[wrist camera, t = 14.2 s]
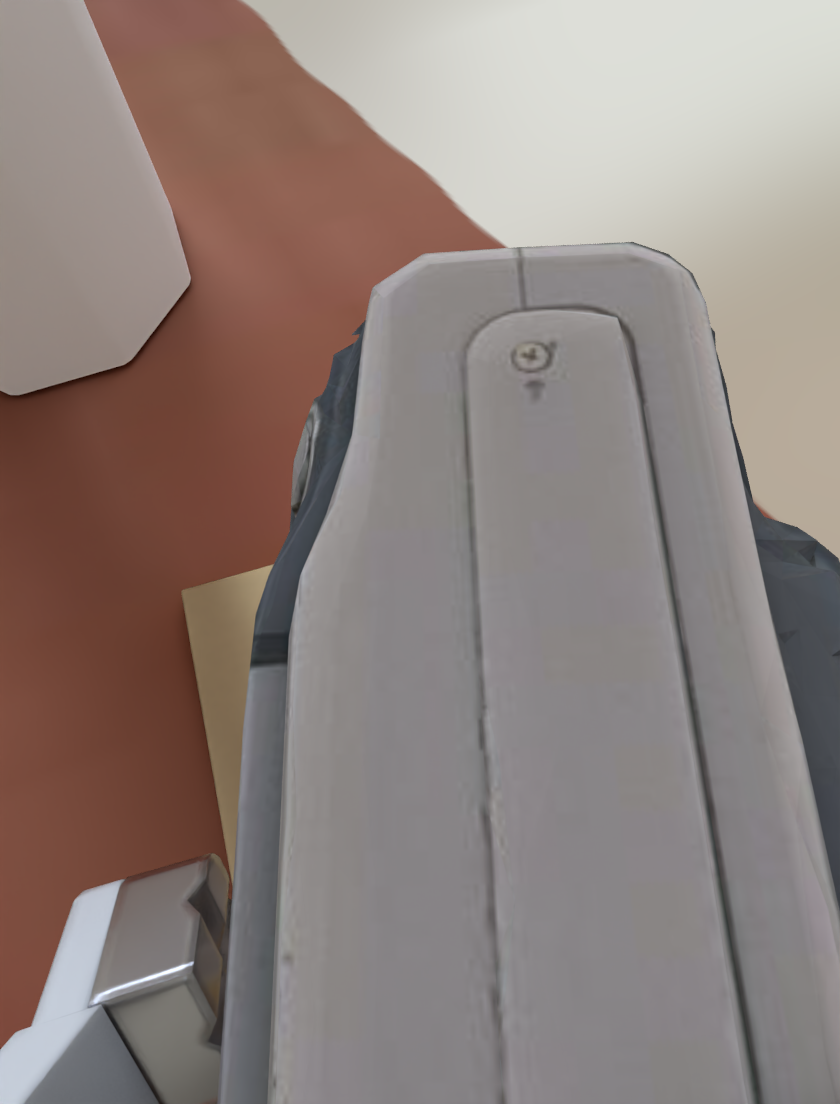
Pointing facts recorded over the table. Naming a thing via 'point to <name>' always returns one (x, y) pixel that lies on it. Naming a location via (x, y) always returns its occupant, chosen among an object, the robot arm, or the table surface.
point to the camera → (536, 719)
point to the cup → (74, 206)
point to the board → (224, 677)
